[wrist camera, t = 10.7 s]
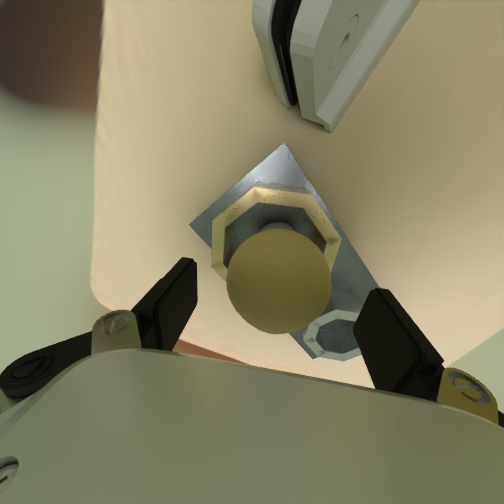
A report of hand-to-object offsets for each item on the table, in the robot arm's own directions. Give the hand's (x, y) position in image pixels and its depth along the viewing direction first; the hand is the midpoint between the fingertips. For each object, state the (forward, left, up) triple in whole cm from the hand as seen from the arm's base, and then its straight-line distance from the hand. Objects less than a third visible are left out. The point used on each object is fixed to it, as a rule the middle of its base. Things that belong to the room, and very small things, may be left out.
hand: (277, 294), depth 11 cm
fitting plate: (+1, +5, -10) cm, 12 cm away
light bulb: (0, 0, -9) cm, 9 cm away
